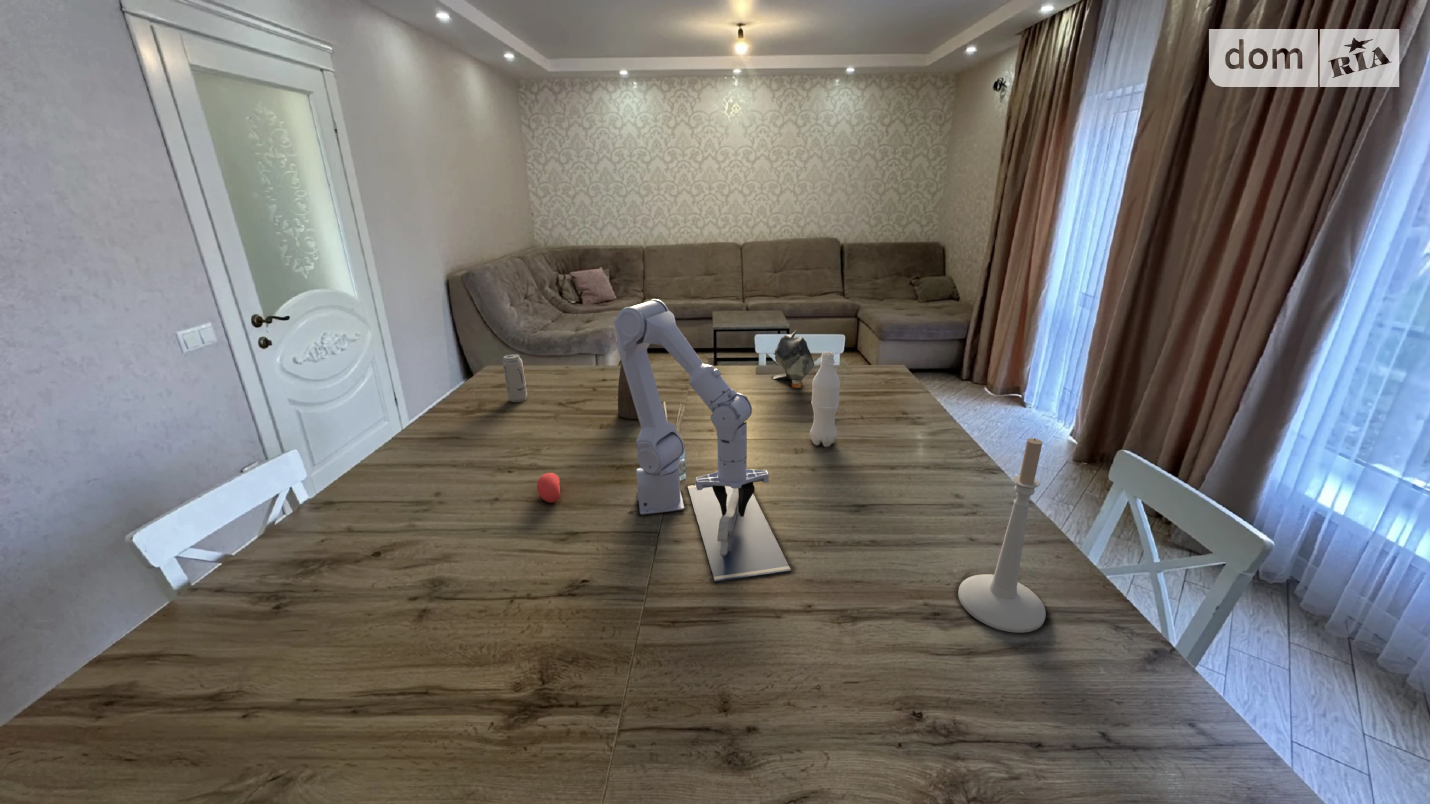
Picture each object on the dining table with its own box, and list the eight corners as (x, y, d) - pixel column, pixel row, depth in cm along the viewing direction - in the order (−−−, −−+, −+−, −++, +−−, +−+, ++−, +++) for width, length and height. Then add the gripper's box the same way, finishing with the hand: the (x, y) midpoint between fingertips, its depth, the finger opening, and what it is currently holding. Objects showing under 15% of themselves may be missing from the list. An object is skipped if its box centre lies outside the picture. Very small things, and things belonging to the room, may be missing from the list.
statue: (645, 410, 172) (640, 332, 163) (648, 419, 165) (643, 338, 156) (618, 412, 171) (611, 334, 162) (619, 422, 164) (612, 340, 155)
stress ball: (531, 509, 122) (536, 492, 118) (537, 478, 129) (542, 461, 125) (555, 513, 124) (560, 496, 120) (560, 482, 130) (565, 465, 127)
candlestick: (1042, 644, 82) (1088, 466, 71) (951, 613, 89) (980, 445, 78) (1047, 594, 92) (1087, 431, 81) (965, 568, 99) (992, 414, 88)
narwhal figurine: (770, 390, 186) (771, 339, 180) (773, 376, 200) (774, 328, 194) (813, 392, 184) (815, 340, 178) (813, 377, 198) (815, 328, 192)
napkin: (714, 582, 97) (714, 581, 97) (687, 486, 128) (687, 485, 128) (791, 571, 99) (791, 570, 99) (745, 479, 130) (745, 479, 130)
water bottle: (806, 446, 146) (810, 356, 137) (812, 435, 152) (816, 348, 143) (833, 450, 144) (839, 358, 135) (838, 439, 150) (844, 350, 141)
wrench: (744, 498, 127) (726, 568, 99) (736, 497, 128) (716, 567, 99) (745, 465, 125) (727, 527, 97) (737, 465, 126) (716, 526, 97)
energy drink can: (524, 402, 180) (517, 358, 175) (506, 403, 180) (498, 359, 175) (530, 396, 186) (523, 353, 180) (512, 396, 186) (505, 353, 181)
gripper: (698, 469, 103) (700, 530, 108) (773, 461, 105) (772, 521, 110) (693, 452, 109) (695, 511, 114) (763, 445, 112) (762, 503, 117)
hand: (732, 515), depth 113 cm, fingers closed on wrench, 3 cm apart
